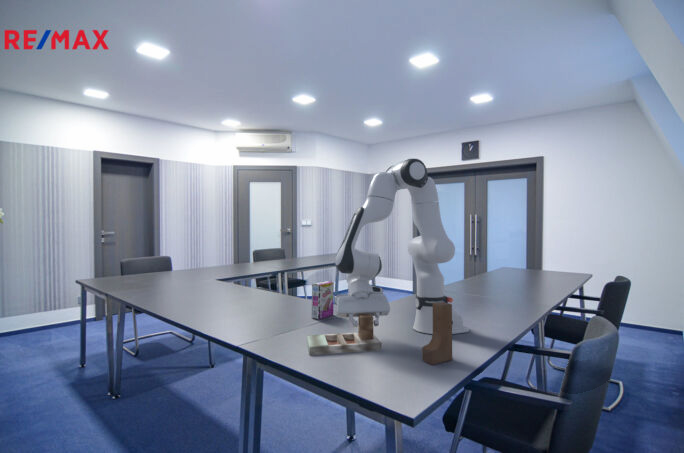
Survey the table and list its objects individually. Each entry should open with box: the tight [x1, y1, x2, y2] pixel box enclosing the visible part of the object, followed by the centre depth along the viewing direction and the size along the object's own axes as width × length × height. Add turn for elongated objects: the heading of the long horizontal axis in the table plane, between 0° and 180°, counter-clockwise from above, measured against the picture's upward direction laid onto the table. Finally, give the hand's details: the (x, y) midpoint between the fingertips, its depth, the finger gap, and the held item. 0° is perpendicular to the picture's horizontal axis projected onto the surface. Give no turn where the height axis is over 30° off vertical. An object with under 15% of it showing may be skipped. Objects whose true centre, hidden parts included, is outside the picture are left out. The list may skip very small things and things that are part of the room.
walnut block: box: [357, 314, 374, 340], centre depth 125 cm, size 4×4×8 cm
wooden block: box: [421, 302, 453, 366], centre depth 110 cm, size 9×4×18 cm, turn 118°
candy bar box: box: [311, 280, 335, 321], centre depth 164 cm, size 11×5×16 cm, turn 144°
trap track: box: [306, 332, 382, 356], centre depth 123 cm, size 25×13×2 cm, turn 100°
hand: (366, 325), depth 124 cm, fingers open, 6 cm apart
